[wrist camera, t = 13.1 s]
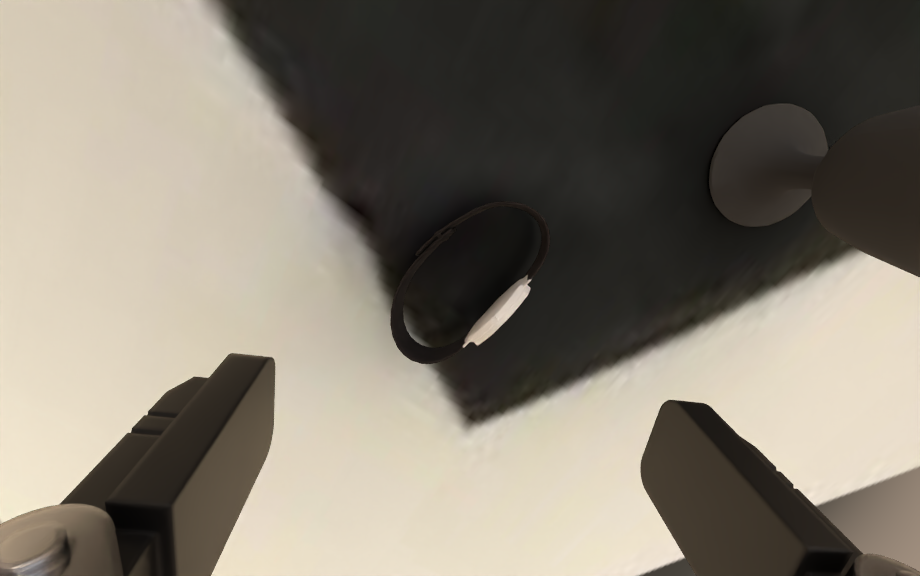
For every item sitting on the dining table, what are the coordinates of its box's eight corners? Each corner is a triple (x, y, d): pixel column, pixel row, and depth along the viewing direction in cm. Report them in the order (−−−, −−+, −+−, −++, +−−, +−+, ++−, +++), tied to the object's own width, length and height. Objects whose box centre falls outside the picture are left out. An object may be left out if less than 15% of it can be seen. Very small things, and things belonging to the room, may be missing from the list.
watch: (445, 363, 21) (448, 409, 17) (365, 300, 20) (351, 336, 16) (566, 241, 19) (595, 265, 16) (487, 165, 18) (500, 173, 15)
